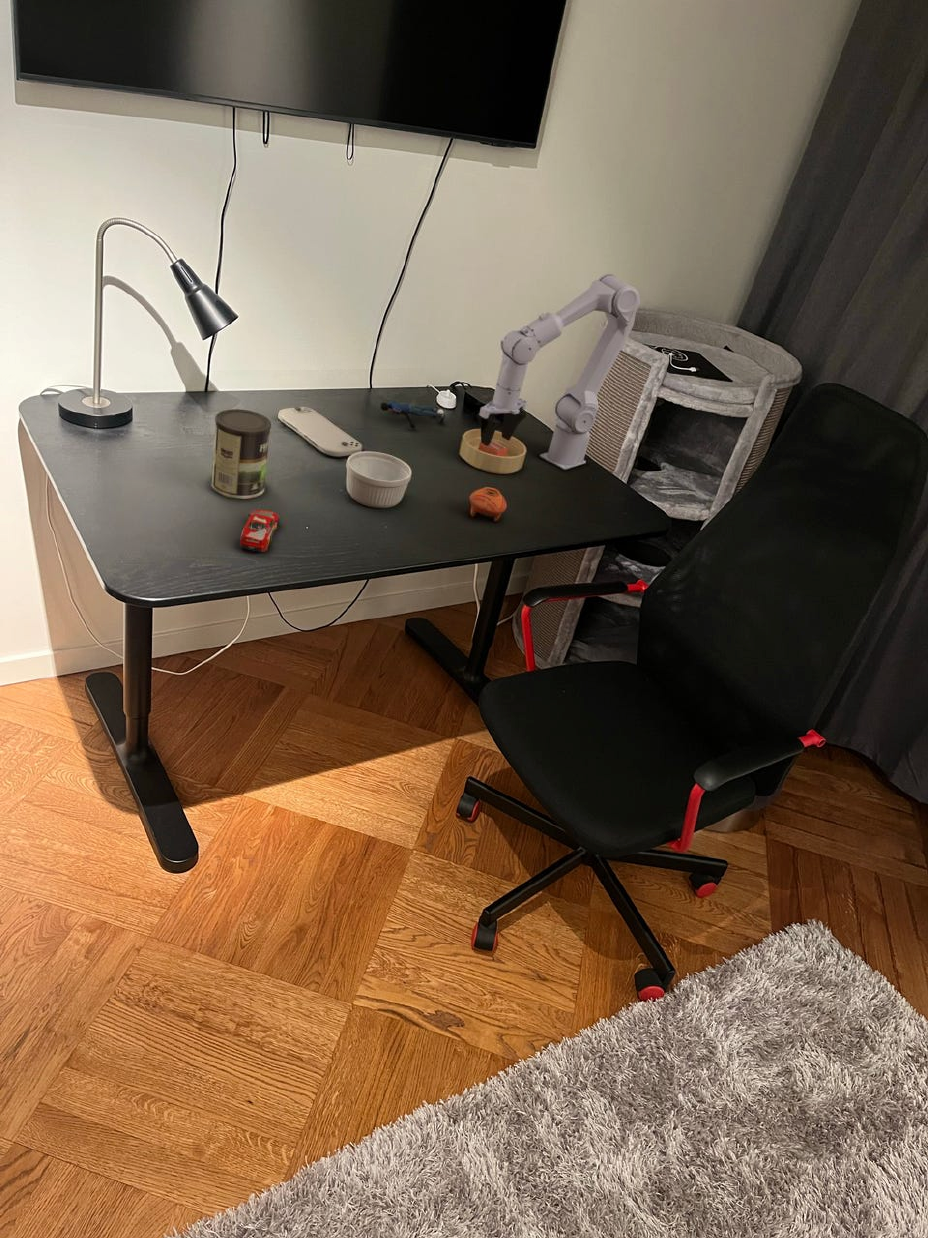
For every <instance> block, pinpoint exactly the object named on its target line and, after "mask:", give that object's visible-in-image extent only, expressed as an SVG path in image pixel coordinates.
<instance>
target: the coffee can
mask: <svg viewBox="0 0 928 1238" xmlns="http://www.w3.org/2000/svg"><path fill="white" fill-rule="evenodd" d="M214 423H215V426H214V441H213V442H214V443H213V458H212V459H213V460H212V474H211V475H212V476H211V481H210V485H211V488H212V489H213V491H215V492H216V493H217V494H219V495H222V496H224V497H227V498H230V499H238V500H239V499H240V500H249V499H254V498H258V497H260V496H261V495H262V494H263V493H264V492H265V488H266V487H265V485H266V484H265V483H266V473H267V465H268V463H267V462H268V452H269V444H270V443H269V442H270V434H271V433H270V432H271V428H272V422H271V420H270V419H269V418H268V417H266V415H263V414H261V413H259V412H256V411H252V410H248V409H247V410H246V409H238V408H237V409H235V408H234V409H233V408H232V409H225V410H222V411H219V412H217V413H216V414H215V416H214Z"/></svg>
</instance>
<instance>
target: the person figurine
mask: <svg viewBox="0 0 928 1238" xmlns="http://www.w3.org/2000/svg"><path fill="white" fill-rule="evenodd" d="M379 407H380V410H382V411H384V412H387V411H389V409H390V410H392V411H393V413H395V414H397V415H400V414H402V415H403V416H405V418H406V419H407V421H408V422H409V428H410V429H411V430H412V431H416V426H415V425H414V424H413V422H412V420H411V417H410V415H412V416H415V417H433V418H437V417H438V418H439V423H440V425H442V424H444V422H445V418H446V414H445V413H444V410H443V409H441V408H440V409H439V408H438V407H437V406H434V407H433V406H426V405H421V406H418V405H415V404H411V403H404V404H401V403H397V402H396V401H395V400H390V401H388V402H387V403H386V402H381V403H380V405H379Z"/></svg>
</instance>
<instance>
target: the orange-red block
mask: <svg viewBox="0 0 928 1238" xmlns="http://www.w3.org/2000/svg"><path fill="white" fill-rule="evenodd" d="M478 450H480V451H483V452H485V453H488V454H492V455H497V456H504V457H506V456H507V452H508V449H507V448H505V447H504V446H502V445H500V444H498V443H497V442H495V441H493V440H492V441H491V443H490V445H489V446H486V445H484V444H482V443H481V442H480V444H479V448H478Z"/></svg>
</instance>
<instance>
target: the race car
mask: <svg viewBox="0 0 928 1238" xmlns="http://www.w3.org/2000/svg"><path fill="white" fill-rule="evenodd" d="M247 517H248V519H247V521H246V524H245V525H244V527H243V529H242V531H241V534H240V538H239V547H240V548H242V549H245V550H249V551H254V552H258V553H260V552H267V550H269V549H270V546H271V544H272V541H273V539H274V537H275V534H276V532H277V529H278V527H279V524H280V523H279V522H280V516H279V515H278V513H276V512H274V511H272V510H269V509H268V510H267V509H255V510H253V511H251V513H250V514H248V513H247Z"/></svg>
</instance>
